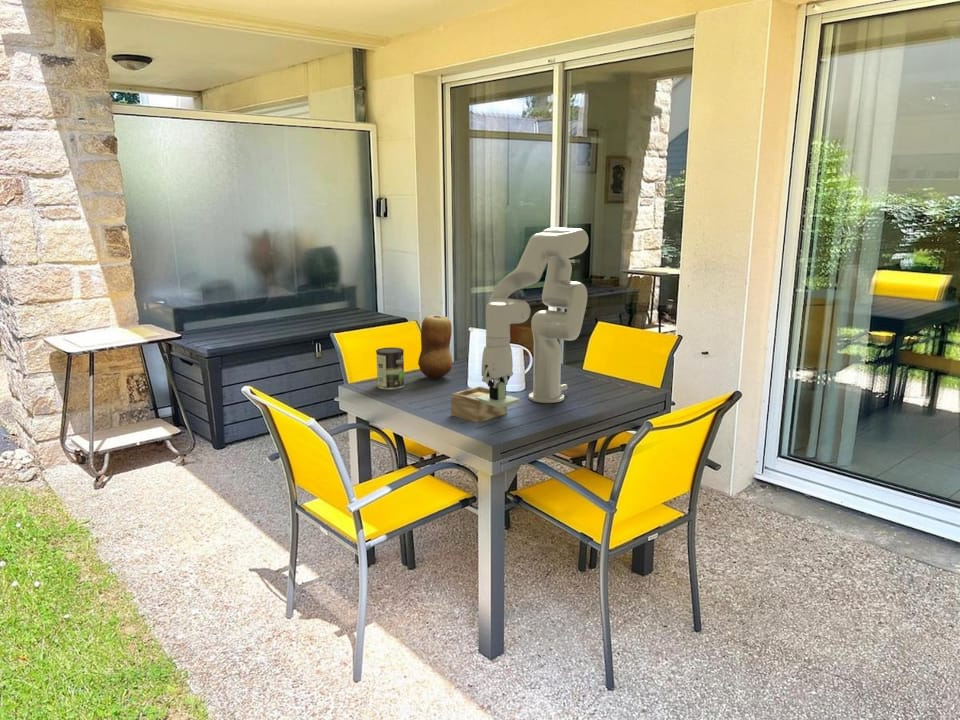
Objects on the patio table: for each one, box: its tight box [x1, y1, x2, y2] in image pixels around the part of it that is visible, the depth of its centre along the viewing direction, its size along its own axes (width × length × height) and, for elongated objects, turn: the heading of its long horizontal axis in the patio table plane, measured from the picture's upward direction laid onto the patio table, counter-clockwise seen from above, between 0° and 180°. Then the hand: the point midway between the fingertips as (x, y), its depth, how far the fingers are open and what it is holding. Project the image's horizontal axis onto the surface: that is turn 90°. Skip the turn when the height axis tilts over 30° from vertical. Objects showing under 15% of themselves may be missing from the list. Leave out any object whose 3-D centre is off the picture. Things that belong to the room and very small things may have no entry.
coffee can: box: [375, 346, 405, 391], centre depth 266 cm, size 10×10×14 cm
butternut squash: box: [417, 314, 453, 380], centre depth 277 cm, size 14×13×25 cm
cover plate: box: [476, 380, 521, 408], centre depth 225 cm, size 9×11×6 cm
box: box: [450, 385, 508, 424], centre depth 232 cm, size 14×12×7 cm
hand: (497, 397), depth 225 cm, fingers closed on cover plate, 3 cm apart
